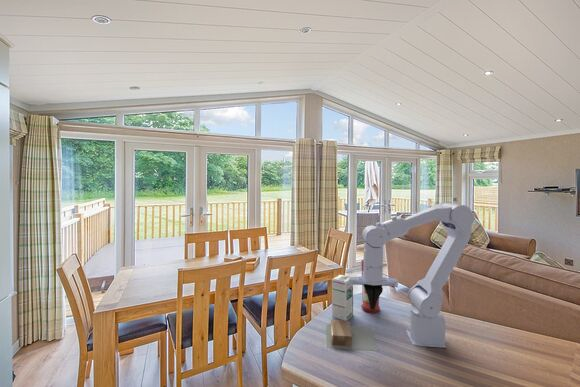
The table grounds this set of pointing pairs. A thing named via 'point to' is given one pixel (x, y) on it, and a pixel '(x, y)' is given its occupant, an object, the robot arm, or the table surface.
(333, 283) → the syrup box
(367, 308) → the liquor
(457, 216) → the robot arm
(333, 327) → the slab
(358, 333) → the mat
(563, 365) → the table surface
